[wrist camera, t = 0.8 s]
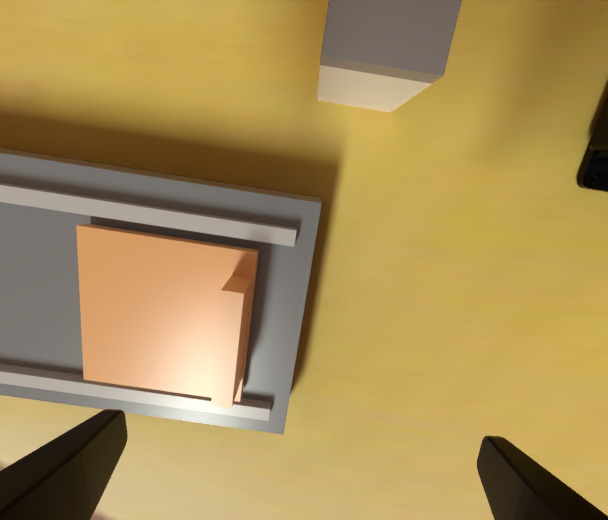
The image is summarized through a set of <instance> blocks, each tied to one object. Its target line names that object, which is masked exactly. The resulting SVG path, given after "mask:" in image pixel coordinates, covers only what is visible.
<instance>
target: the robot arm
mask: <svg viewBox="0 0 608 520" xmlns="http://www.w3.org/2000/svg"><path fill="white" fill-rule="evenodd" d="M589 176H591V180H590V182H588V177H589ZM577 184H578V185H579V187H581V188H586V189H592V190H598V191H604V192H608V98H607V101H606V104H605V106H604V109H603V112H602V114H601V117H600V120H599V122H598V125H597V127H596V130H595V133H594V135H593V138H592V141H591V143H590V146H589V148H588V151H587V154H586V156H585V159H584V162H583V164H582V167H581V169H580V172H579V175H578V177H577ZM126 442H127V427H126V419H125V413H124V411H123V410H119V409H105V410H103V411H101V412H100V413H98V414H96V415H94V416H93V417H91V418H89V419H88V420H86V421H84V422H83V423H81V424H79V425H78V426H76V427H74V428H72V429H71V430H69V431H67V432H66V433H64V434H62V435H61V436H59V437H57V438H55V439H54V440H52V441H50V442H49V443H47V444H45V445H44V446H42V447H40V448H38V449H37V450H35V451H33V452H32V453H30V454H28V455H27V456H25V457H23V458H22V459H20V460H18V461H16V462H15V463H13V464H11V465H10V466H8V467H6V468H5V469H3V470H1V471H0V520H90V519H91V517H92V515H93V513H94V511H95V509H96V507H97V505H98V503H99V501H100V499H101V497H102V495H103V492H104V490H105V488H106V486H107V484H108V482H109V480H110V478H111V475H112V473H113V471H114V469H115V467H116V465H117V463H118V461H119V458H120V456H121V454H122V452H123V450H124V448H125V445H126ZM477 469H478V473H479V476H480V479H481V482H482V485H483V488H484V491H485V493H486V496H487V499H488V502H489V505H490V508H491V511H492V514H493V517H494V519H495V520H608V516H607V515H606V514H604V513H603V512H602V511H600V510H599V509H598V508H596V507H595V506H594V505H592V504H591V503H590V502H588V501H587V500H586V499H584V498H583V497H582V496H580V495H579V494H578V493H576V492H575V491H574V490H573V489H571V488H570V487H569V486H567V485H566V484H565V483H563V482H562V481H561V480H559V479H558V478H557V477H555V476H554V475H553V474H551V473H550V472H549V471H547V470H546V469H545V468H543V467H542V466H541V465H539V464H538V463H537V462H536V461H534V460H533V459H532V458H530V457H529V456H528V455H526V454H525V453H524V452H522V451H521V450H520V449H518V448H517V447H516V446H514V445H513V444H512V443H510V442H509V441H508V440H506V439H505V438H503V437H500V436H485V437H484V438H483V440H482V444H481V448H480V451H479V455H478V459H477Z"/></svg>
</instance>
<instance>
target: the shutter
mask: <svg viewBox="0 0 608 520" xmlns="http://www.w3.org/2000/svg"><path fill="white" fill-rule="evenodd" d="M76 230H77V250H78V271H79V292H80V313H81V334H82V354H83V375H84V380H90V381H97V382H104V383H111V384H118V385H125V386H132V387H139V388H146V389H154V390H161V391H168V392H175V393H182V394H189V395H196V396H203V397H210V398H212V399H211V406H218V407H225V408H232V406H233V403H234V401H238V402H240V400H241V397H242V393H243V384H244V375H245V367H246V358H247V350H248V341H249V333H250V324H251V315H252V307H253V298H254V290H255V281H256V273H257V264H258V255H259V250H257V249H250V248H244V247H237V246H230V245H224V244H217V243H211V242H204V241H198V240H191V239H185V238H178V237H171V236H165V235H158V234H152V233H145V232H139V231H132V230H126V229H119V228H112V227H106V226H99V225H93V224H86V223H84V224H80V225H76Z"/></svg>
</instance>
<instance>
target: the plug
mask: <svg viewBox="0 0 608 520" xmlns="http://www.w3.org/2000/svg"><path fill="white" fill-rule="evenodd" d="M461 1H462V0H329V3H328V10H327V17H326V24H325V31H324V37H323V44H322V51H321V60H320V71H319V83H318V94H317V100H319V101H325V102H331V103H337V104H343V105H350V106H356V107H362V108H368V109H374V110H380V111H386V112H392V111H394V110H395V109H396V108H398V107H399V106H401V105H402V104H404V103H405V102H406V101H408V100H409V99H411V98H412V97H414V96H415V95H417V94H418V93H419V92H421V91H422V90H424V89H425V88H427V87H428V86H429V85H431V84H432V83H434V82H435V81H437V80H438V79H439V78H441V77H442V76H443V75H444V71H445V67H446V63H447V59H448V55H449V50H450V46H451V42H452V38H453V34H454V30H455V26H456V22H457V18H458V14H459V10H460V6H461Z"/></svg>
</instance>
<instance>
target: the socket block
mask: <svg viewBox="0 0 608 520" xmlns="http://www.w3.org/2000/svg"><path fill="white" fill-rule="evenodd" d="M321 205H322V202H321V199H320V198H319V197H312V196H306V195H300V194H293V193H287V192H281V191H274V190H268V189H261V188H255V187H249V186H242V185H236V184H230V183H223V182H217V181H210V180H204V179H198V178H191V177H185V176H179V175H172V174H166V173H159V172H153V171H147V170H140V169H134V168H128V167H121V166H115V165H108V164H102V163H96V162H89V161H83V160H77V159H70V158H64V157H57V156H51V155H45V154H38V153H32V152H26V151H19V150H13V149H6V148H0V395H5V396H12V397H19V398H26V399H34V400H41V401H48V402H55V403H62V404H69V405H76V406H84V407H91V408H98V409H119V410H123V411H124V412H126V413H134V414H141V415H148V416H155V417H162V418H169V419H176V420H184V421H191V422H198V423H205V424H212V425H219V426H226V427H234V428H241V429H248V430H255V431H262V432H269V433H276V434H283V433H284V427H285V421H286V415H287V409H288V403H289V397H290V391H291V385H292V379H293V373H294V367H295V361H296V355H297V349H298V343H299V337H300V331H301V325H302V319H303V313H304V307H305V301H306V295H307V289H308V283H309V277H310V271H311V265H312V259H313V253H314V247H315V241H316V235H317V229H318V223H319V217H320V211H321ZM84 223H86V224H93V225H99V226H106V227H112V228H119V229H126V230H132V231H139V232H145V233H152V234H158V235H165V236H171V237H178V238H185V239H191V240H198V241H204V242H211V243H217V244H224V245H230V246H237V247H244V248H250V249H257V250H259V255H258V264H257V273H256V281H255V290H254V298H253V307H252V315H251V324H250V333H249V341H248V350H247V358H246V367H245V375H244V384H243V393H242V397H241V400H240V402H238V401H234V403H233V406H232V408H225V407H218V406H211V399H212V398H210V397H203V396H196V395H189V394H182V393H175V392H168V391H161V390H154V389H146V388H139V387H132V386H125V385H118V384H111V383H104V382H97V381H90V380H84V375H83V354H82V334H81V313H80V292H79V271H78V250H77V230H76V225H80V224H84Z"/></svg>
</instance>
